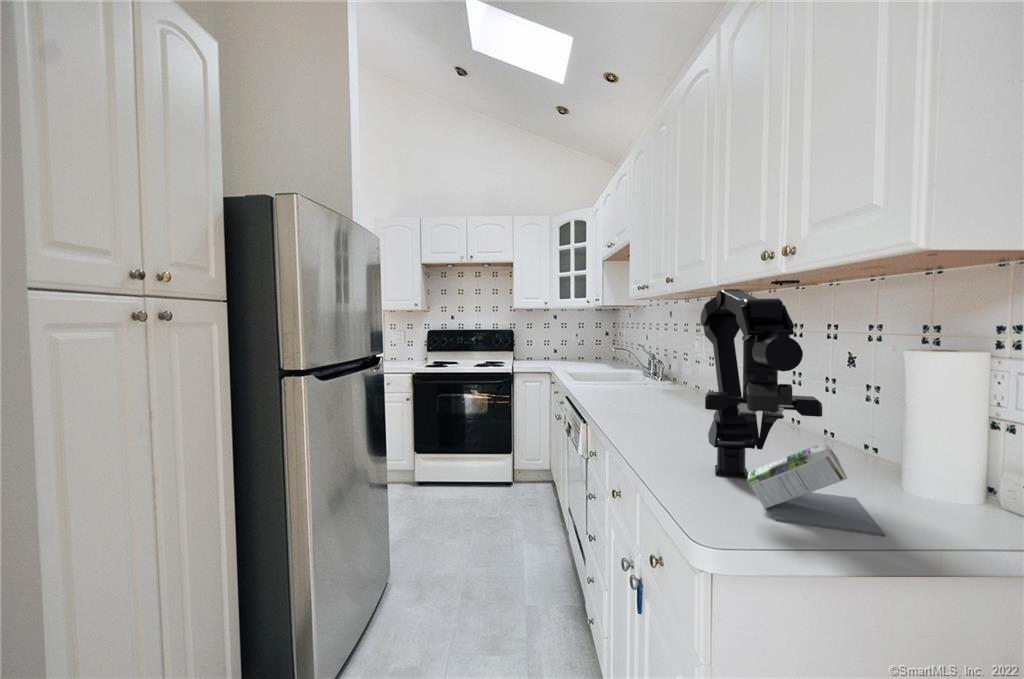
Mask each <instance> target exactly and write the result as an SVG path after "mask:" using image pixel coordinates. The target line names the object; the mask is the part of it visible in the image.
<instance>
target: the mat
mask: <svg viewBox="0 0 1024 679" xmlns="http://www.w3.org/2000/svg"><path fill="white" fill-rule="evenodd" d="M770 509H771V512H772V514H773V517H774V520H775V521H778V522H785V523H790V524H791V523H792V524H797V525H805V526H812V527H818V528H826V529H833V530H838V531H840V530H841V531H845V532H852V533H860V534H865V535H866V534H867V535H868V534H869V535H874V536H880V537H886V532H884V530H883V529H882V528H881V527H880V525H878V523H877V522H876V520H874V518H873V517H872V516H871V514H870V513H869V512H868V511H867V510H866V508H865V507H864V506H863V505H862V504H861V502H860V501H859V500H858V498H856V497H853V496H845V495H835V494H829V493H820V492H810V493H807V494H804V495H802V496H799V497H796V498H793V499H791V500H788V501H785V502H783V503H780V504H777V505H774V506H771V507H770Z"/></svg>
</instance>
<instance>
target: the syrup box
mask: <svg viewBox="0 0 1024 679" xmlns="http://www.w3.org/2000/svg"><path fill="white" fill-rule="evenodd" d="M747 473H748V478H746V482H747V484H748V485H749V487H750V489H751V490H752V491H753V492H754V495H755V496H756V497H757V499H758V500H759V501H760V504H761V505H762V507H763V508H764V509H768V508H771V506H774V505H777V504H780V503H783V502H785V501H788V500H791V499H793V498H796V497H799V496H802V495H804V494H807V493H810V492H812V493H814V492H815V491H818V490H821V489H823V488H826V487H829V486H832V485H835V484H837V483H840V482H843V481H844V480H845V481H846V480H847V479H849V477H848V476H847V474H846V472H845V469H844V467H843V465H842V464H841V462H840V460H839V458H838V457H837V455H836V454H835V453H834V451H833V449H832V448H831V447H830V446H829V444H827V443H826V442H825V441H823V442H821V443H818V444H816V445H814V446H811V447H808V448H806V449H803V450H801V451H798V452H796V453H793V454H790V455H787V456H786V457H783V458H780V459H778V460H775V461H772V462H770V463H767V464H765V465H763V466H760V467H757V468H756V469H754V470H750V471H749V472H747Z"/></svg>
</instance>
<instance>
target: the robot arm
mask: <svg viewBox="0 0 1024 679" xmlns="http://www.w3.org/2000/svg"><path fill="white" fill-rule="evenodd" d="M783 303H784V302H783V301H782V300H781V299H780V298H773V297H772V298H757V297H755V296H753V295H752V294H748V293H746V292H744V290H742V289H740V288H739V289H738V288H730V289H729V288H727V289H724V288H722V289H721V290H717V292H716V294H715V296H714V297H713V298H712V299H710V300H709V301H707V302H706V303H705V304H704V305H703V308H702V311H701V313H700V325H701V326H702V327H703V333H704V336H705V338H707V339H708V340H709V342H711V344H712V347H713V354H714V355H713V357H714V364H715V374H716V380H717V382H716V383H717V390H718V391H710V390H709V391H708V392H706V393H705V397H704V398H705V399H704V405H705V406H704V409H705V410H707V411H715V412H714V414H713V420H712V423H711V424H710V428H709V430H708V433H707V434H708V443H709V444H710V445H711V446H712V447H713V448H714V449H715V448H716V453H717V454H716V464H715V465H714V470H715V471H714V475H715V476H723V477H731V478H740V479H748V473H749V472H748V470H747V467H746V449H751V450H754V449H755V448H756V449H757V450H763V449H764V445H765V443H766V441H767V439H768V437H769V436H768V435H769V434H770V431H771V429H772V427H773V425H774V424H775V422H776V421H778V420H783V419H784V417H785V416H784V414H783V412H784V411H787V410H788V411H796V413H798V414H799V415H800V416H804V417H817V418H818V417H819V418H820V417H823V404H822V402H821V401H820V400H819V399H817V398H816V397H815V396H809V395H793V386H792V384H791V383H789V384H788V383H779V378H778V377H779V374H778V373H779V372H789V371H792V370H794V369H796V368H797V367H798V366H799V365H800V364H801V362H802V360H803V355H804V351H803V350H802V347H801V345H800V343H799V342H798V341H797V340H795V339H794V338H791V336H794V334H795V331H794V327H795V324H794V323H793V321H792V318H791V316H790V314H789V312H788V310H787V306H786V305H785V304H783ZM739 331H741V334H742V338H741V340H742V342H743V343H742V346H743V348H742V353H743V354H742V389H741V381H740V375H739V374H740V373H739V366H738V357H737V352H736V351H737V350H736V344H735V343H736V342H735V339H736V337H737V334H738V333H739ZM778 383H779V384H778ZM757 412H762V414H761V422H760V430H759V427H758V426H759V425H758V418H757Z"/></svg>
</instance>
